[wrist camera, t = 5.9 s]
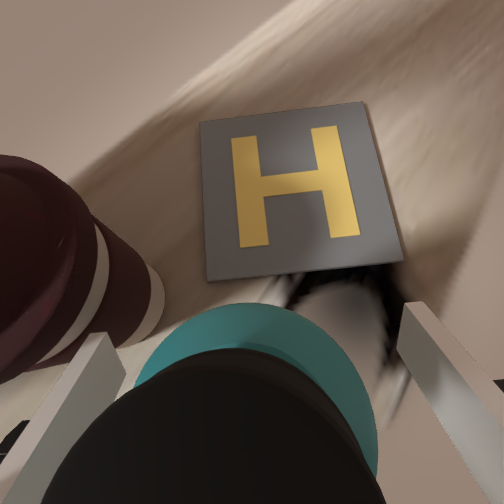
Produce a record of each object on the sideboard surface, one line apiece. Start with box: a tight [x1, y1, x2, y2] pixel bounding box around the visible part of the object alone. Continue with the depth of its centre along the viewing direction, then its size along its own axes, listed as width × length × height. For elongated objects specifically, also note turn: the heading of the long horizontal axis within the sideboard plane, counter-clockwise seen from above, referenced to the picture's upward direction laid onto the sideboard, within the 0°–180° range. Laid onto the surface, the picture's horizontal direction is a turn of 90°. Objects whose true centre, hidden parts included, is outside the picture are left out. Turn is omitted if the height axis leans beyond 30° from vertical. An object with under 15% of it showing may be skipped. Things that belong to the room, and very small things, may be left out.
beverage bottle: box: [40, 303, 386, 504], centre depth 12 cm, size 6×7×20 cm
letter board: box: [200, 101, 404, 282], centre depth 25 cm, size 16×16×1 cm
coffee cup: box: [0, 155, 165, 384], centre depth 17 cm, size 10×10×15 cm
